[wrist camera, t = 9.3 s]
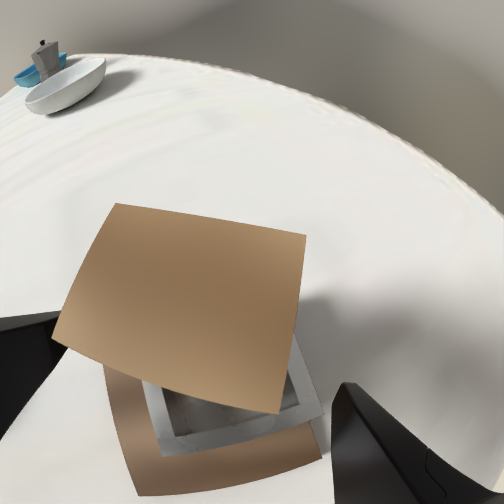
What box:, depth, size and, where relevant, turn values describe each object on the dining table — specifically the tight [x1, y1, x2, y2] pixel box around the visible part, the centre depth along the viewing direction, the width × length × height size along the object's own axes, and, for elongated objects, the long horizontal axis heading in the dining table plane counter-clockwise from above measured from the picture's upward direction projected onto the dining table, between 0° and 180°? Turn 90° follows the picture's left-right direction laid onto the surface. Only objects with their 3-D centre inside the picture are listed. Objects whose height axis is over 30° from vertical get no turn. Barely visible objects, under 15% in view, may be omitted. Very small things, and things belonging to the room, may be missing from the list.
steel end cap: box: [142, 333, 324, 457], centre depth 15 cm, size 8×8×4 cm
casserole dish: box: [14, 52, 67, 87], centre depth 64 cm, size 37×22×7 cm, turn 57°
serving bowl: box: [24, 58, 106, 115], centre depth 40 cm, size 21×21×7 cm
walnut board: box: [103, 364, 322, 496], centre depth 16 cm, size 14×13×1 cm
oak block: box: [52, 203, 306, 415], centre depth 10 cm, size 4×4×13 cm
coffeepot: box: [31, 40, 62, 83], centre depth 45 cm, size 15×9×18 cm, turn 23°
